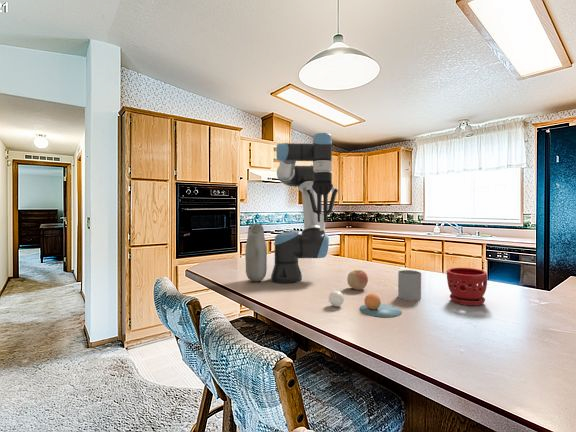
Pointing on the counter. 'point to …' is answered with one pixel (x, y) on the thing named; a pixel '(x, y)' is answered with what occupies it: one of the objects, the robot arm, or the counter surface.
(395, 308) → the teal mark
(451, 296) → the plant pot
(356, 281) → the apple
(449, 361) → the counter surface
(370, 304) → the orange ball
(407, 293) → the cup
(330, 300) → the cue ball
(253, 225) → the grey bottle
